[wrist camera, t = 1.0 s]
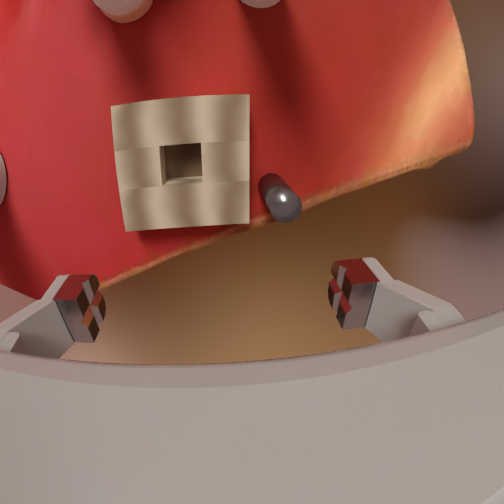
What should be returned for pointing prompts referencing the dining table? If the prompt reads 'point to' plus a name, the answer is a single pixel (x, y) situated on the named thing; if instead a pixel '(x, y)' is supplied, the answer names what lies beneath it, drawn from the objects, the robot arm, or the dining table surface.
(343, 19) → the dining table surface
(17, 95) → the dining table surface
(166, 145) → the socket block
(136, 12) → the pepper shaker
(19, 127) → the dining table surface
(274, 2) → the cylindrical container
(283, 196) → the pin
